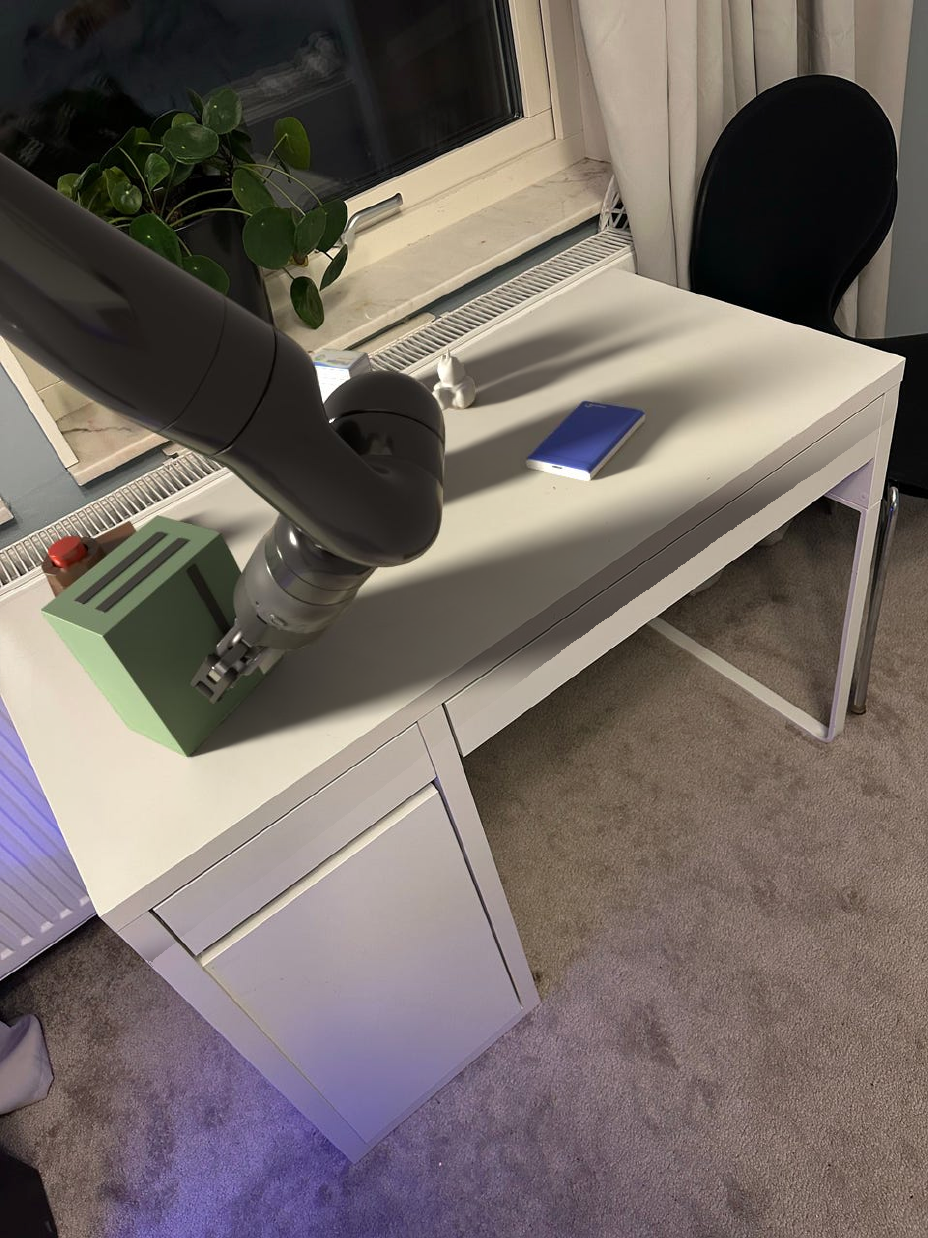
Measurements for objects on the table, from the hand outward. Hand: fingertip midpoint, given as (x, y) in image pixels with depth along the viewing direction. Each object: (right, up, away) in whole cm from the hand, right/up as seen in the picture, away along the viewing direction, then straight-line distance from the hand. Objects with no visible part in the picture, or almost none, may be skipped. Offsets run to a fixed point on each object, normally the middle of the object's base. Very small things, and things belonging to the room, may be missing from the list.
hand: (248, 651), depth 73 cm
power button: (-25, +10, +21) cm, 34 cm away
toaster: (-5, -4, +5) cm, 8 cm away
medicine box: (+4, +29, +39) cm, 49 cm away
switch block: (-23, +8, +24) cm, 34 cm away
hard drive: (+33, +22, +22) cm, 45 cm away
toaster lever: (+1, 0, -1) cm, 1 cm away
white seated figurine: (+18, +30, +35) cm, 49 cm away
